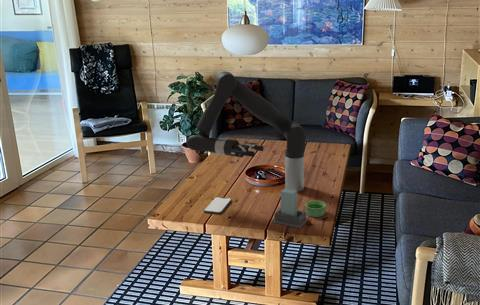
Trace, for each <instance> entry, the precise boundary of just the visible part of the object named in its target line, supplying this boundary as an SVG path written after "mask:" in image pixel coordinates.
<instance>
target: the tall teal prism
mask: <svg viewBox="0 0 480 305" xmlns="http://www.w3.org/2000/svg"><path fill="white" fill-rule="evenodd" d="M280 208H281V214H286V215H291V216H296V217H297V210H298V191H295V190H290V189H285V188H283V189H282V190H280Z"/></svg>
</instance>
